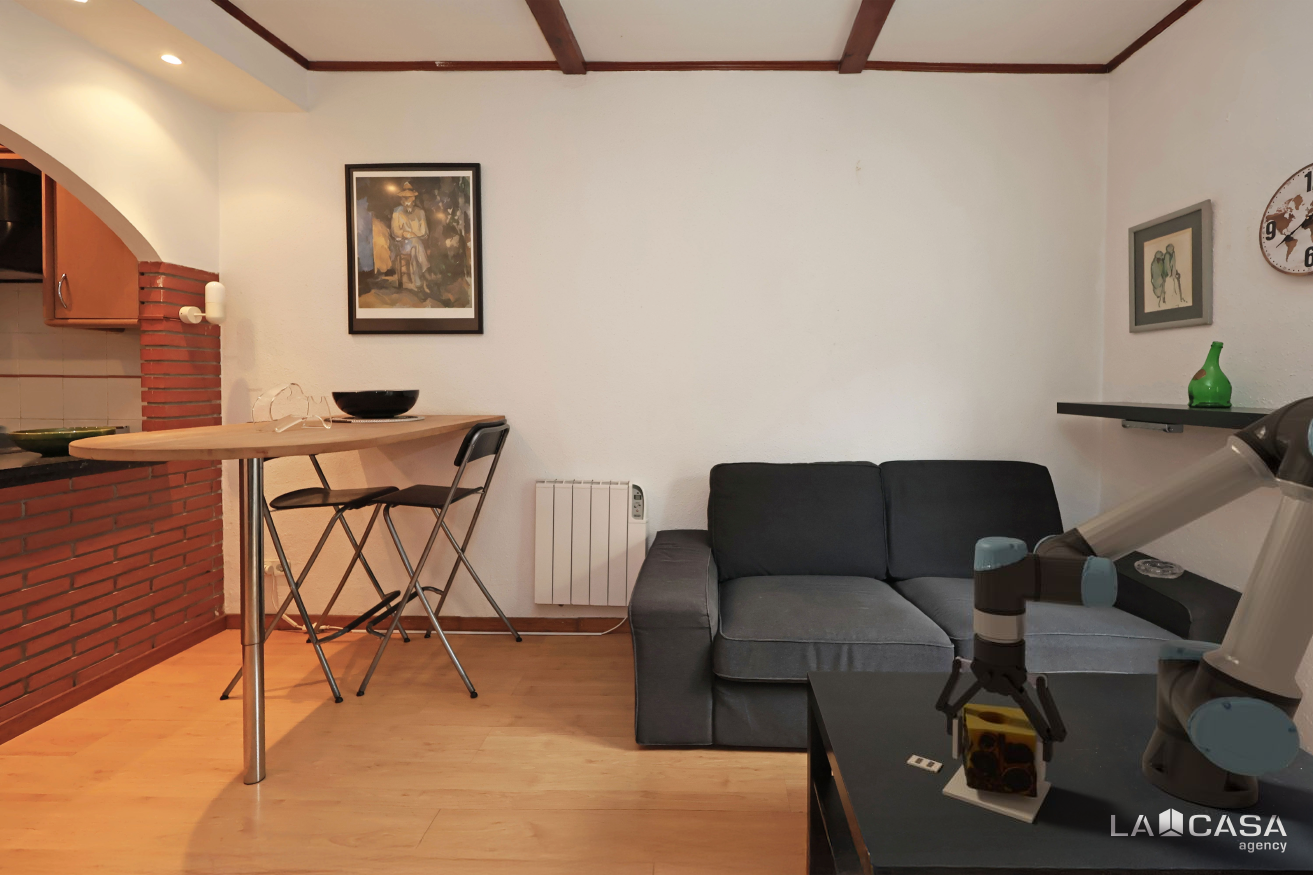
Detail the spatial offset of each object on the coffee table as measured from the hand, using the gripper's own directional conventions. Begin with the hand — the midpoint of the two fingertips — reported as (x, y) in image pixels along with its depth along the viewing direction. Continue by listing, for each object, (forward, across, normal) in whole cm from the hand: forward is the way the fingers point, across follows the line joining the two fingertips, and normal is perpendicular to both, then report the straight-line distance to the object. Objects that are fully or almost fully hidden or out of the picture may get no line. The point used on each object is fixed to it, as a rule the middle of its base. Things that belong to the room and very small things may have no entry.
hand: (997, 766), depth 118 cm
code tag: (+4, +12, -1) cm, 13 cm away
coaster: (+4, 0, 0) cm, 4 cm away
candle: (+2, 0, 0) cm, 2 cm away
